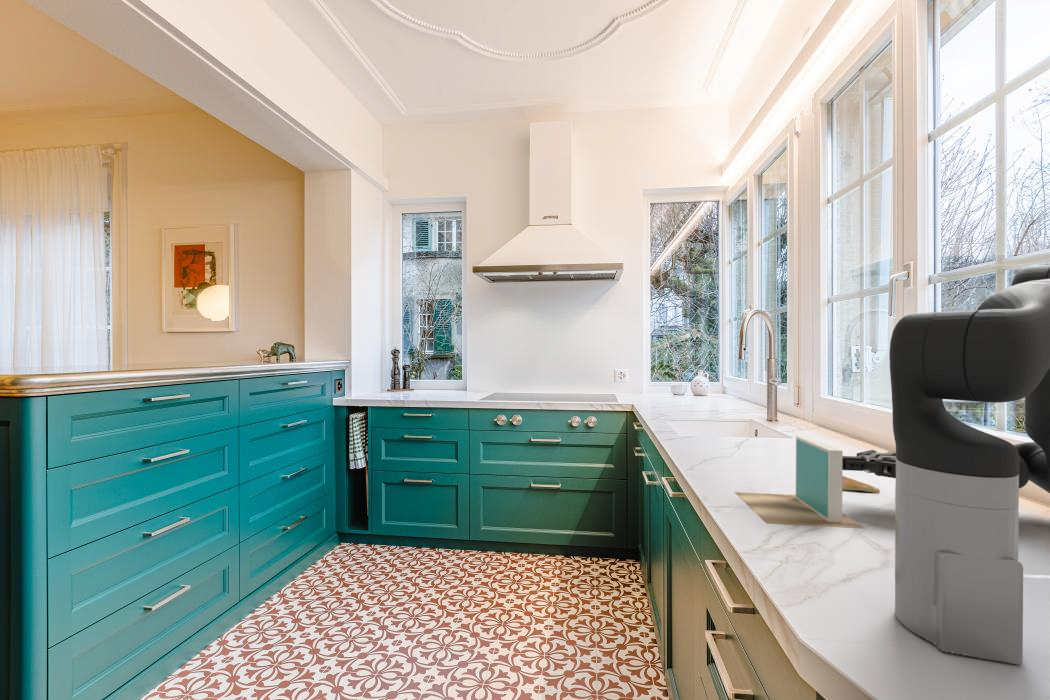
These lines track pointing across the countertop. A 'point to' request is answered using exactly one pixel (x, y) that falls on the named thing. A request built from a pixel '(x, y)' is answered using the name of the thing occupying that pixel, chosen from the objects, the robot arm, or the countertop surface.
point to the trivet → (789, 511)
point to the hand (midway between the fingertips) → (838, 462)
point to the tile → (819, 478)
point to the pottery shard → (857, 485)
